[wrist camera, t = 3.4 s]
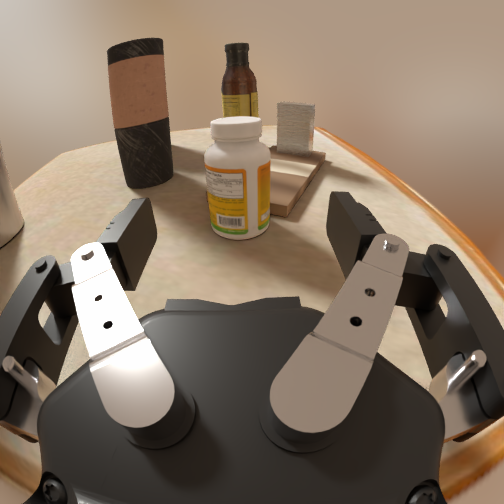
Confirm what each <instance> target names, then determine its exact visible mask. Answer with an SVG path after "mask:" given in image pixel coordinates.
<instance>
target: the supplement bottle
mask: <svg viewBox="0 0 504 504" xmlns="http://www.w3.org/2000/svg"><path fill="white" fill-rule="evenodd" d="M261 133H262V120H261V119H260V118H257V117H249V116H236V117H225V118H219V119H215V120H213V121H211V136H212V139H213V140H215V143H214V144H212V145H211V146H209V147H208V148H207V149H206V151H205V154H204V163H205V172H206V182H207V192H208V202H209V211H210V220H211V226H212V229H213V230H214V232H215V233H217V234H218V235H220V236H222V237H225V238H228V239H234V240H243V239H249V238H253V237H256V236H258V235H260V234H262V233H263V232H264V231H265V230H266V229H267V228H268V226H269V221H270V165H271V160H270V150H269V148H268V147H267V146H266V145H265V144H263V143H261V142H259V138H260V137H261V136H262V134H261Z"/></svg>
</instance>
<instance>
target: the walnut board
mask: <svg viewBox="0 0 504 504" xmlns="http://www.w3.org/2000/svg"><path fill="white" fill-rule="evenodd" d="M269 150H270V160H271V165H270V214H274V215H279V216H284V217H287V216H288V214H289V213H290V211H291V210H292V208H293V207H294V205H295V204H296V202H297V201H298V199H299V198H300V196H301V195H302V193H303V192H304V190H305V189H306V187H307V186H308V185H309V183H310V182H311V180H312V179H313V177H314V176H315V174H316V173H317V171H318V170H319V168H320V166H321V165H322V163H323V162H324V160H325V154H326V153H323V152H317V151H312V153H311V154H310V156H309V157H305V156H298V155H291V154H284V153H277V146H272V147H270V148H269ZM206 196H207V202H208V192H207V191H206Z"/></svg>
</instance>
